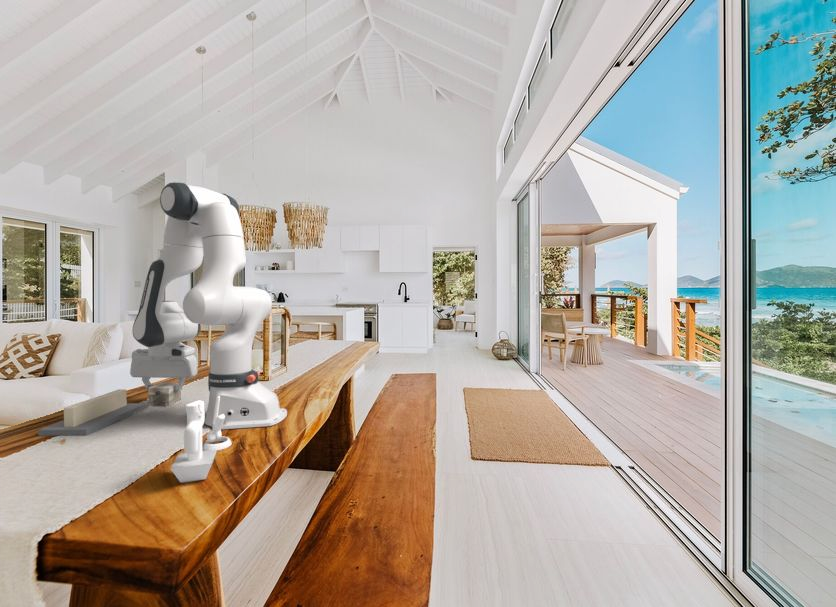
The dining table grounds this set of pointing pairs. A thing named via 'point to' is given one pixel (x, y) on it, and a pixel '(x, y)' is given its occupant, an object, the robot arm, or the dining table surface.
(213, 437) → the hook
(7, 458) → the dining table surface
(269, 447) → the dining table surface
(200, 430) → the figurine
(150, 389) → the cabinet block
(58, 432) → the cleat board
